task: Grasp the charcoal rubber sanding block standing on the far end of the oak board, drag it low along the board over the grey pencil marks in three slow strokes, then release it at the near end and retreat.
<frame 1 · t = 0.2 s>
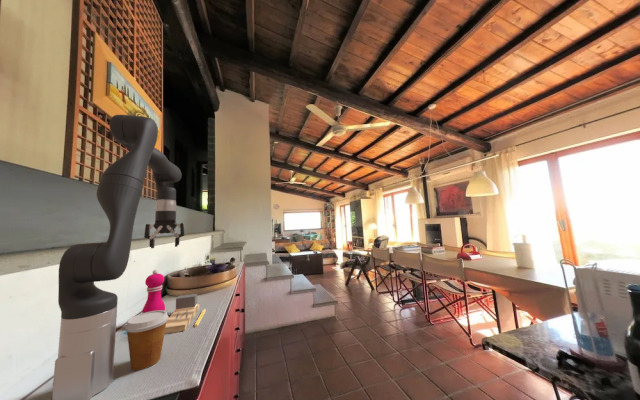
hand: (164, 247, 96), 28 cm above the countertop, fingers open, 8 cm apart
pepper mill: (153, 322, 85), on the countertop
sanding block: (186, 308, 93), point 2 cm above the countertop, touching board
board: (181, 319, 86), on the countertop
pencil: (200, 319, 87), on the countertop
disposable coffee cup: (146, 363, 59), on the countertop
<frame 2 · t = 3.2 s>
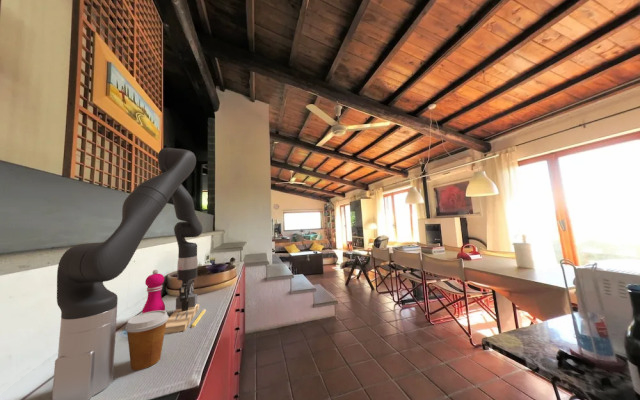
hand: (186, 307, 93), 2 cm above the countertop, fingers closed on board, 5 cm apart
nothing on the countertop moved.
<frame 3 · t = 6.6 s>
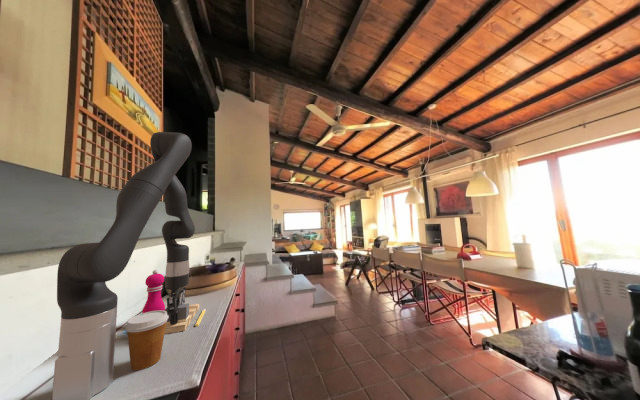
hand: (176, 320, 81), 2 cm above the countertop, fingers open, 4 cm apart
sanding block: (177, 320, 81), point 2 cm above the countertop
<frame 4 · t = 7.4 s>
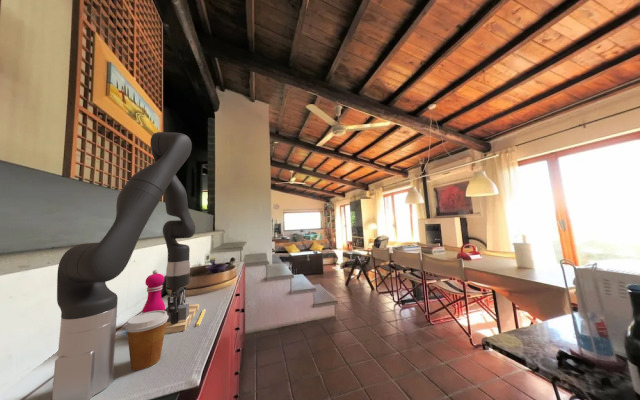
hand: (177, 319, 81), 2 cm above the countertop
sanding block: (176, 321, 81), point 2 cm above the countertop, touching gripper
everything else where it was.
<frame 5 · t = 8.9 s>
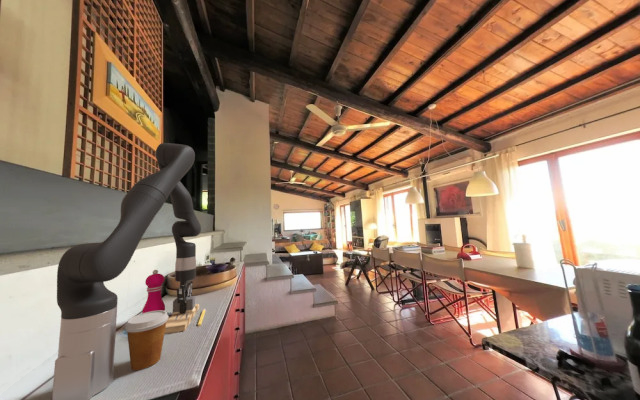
hand: (184, 310, 90), 2 cm above the countertop
sanding block: (184, 311, 90), point 2 cm above the countertop, touching gripper
everything else where it was.
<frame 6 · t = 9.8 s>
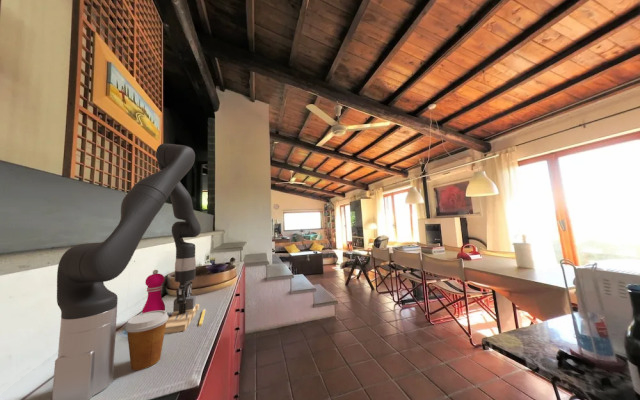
hand: (184, 310, 90), 2 cm above the countertop, fingers open, 4 cm apart
sanding block: (184, 310, 91), point 2 cm above the countertop, touching board, gripper
everything else where it was.
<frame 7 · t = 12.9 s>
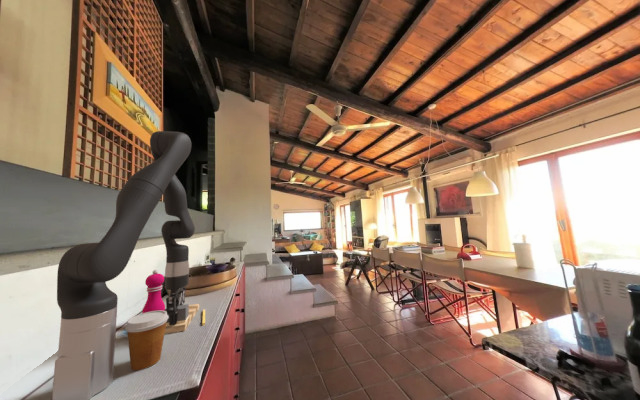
hand: (175, 320, 80), 2 cm above the countertop, fingers open, 5 cm apart
sanding block: (176, 321, 80), point 2 cm above the countertop, touching board
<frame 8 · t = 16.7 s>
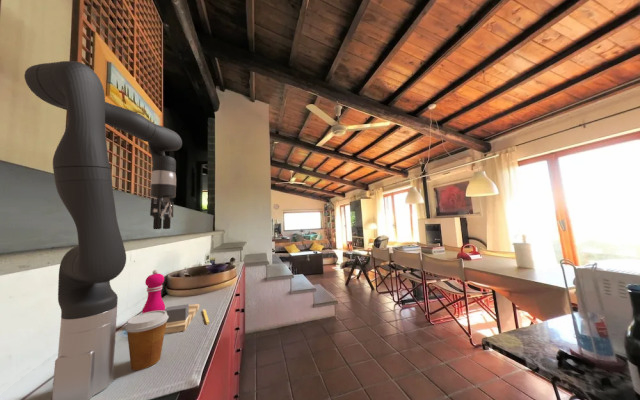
hand: (162, 229, 79), 36 cm above the countertop, fingers open, 8 cm apart
at the end: sanding block inside the target area (0.3 cm from its centre), point 2.0 cm above the countertop; sanding block moved 13.8 cm from its start; the gripper is holding nothing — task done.
